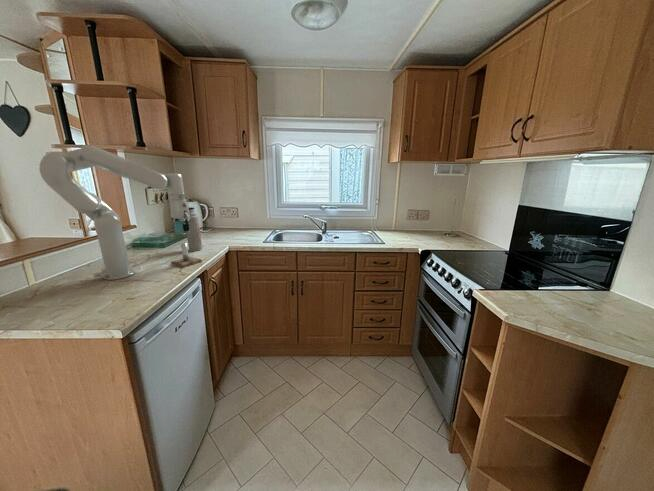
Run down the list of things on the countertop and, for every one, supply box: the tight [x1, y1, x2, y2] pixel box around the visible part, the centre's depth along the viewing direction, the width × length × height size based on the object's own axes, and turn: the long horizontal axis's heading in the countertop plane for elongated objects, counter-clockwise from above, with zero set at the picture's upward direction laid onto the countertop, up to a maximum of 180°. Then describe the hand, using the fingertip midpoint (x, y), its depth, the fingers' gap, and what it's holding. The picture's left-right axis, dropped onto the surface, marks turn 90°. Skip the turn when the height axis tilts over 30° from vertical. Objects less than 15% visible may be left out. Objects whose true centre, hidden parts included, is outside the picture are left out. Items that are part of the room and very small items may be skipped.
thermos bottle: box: [186, 207, 203, 252], centre depth 173 cm, size 8×8×28 cm
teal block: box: [173, 219, 190, 234], centre depth 145 cm, size 7×7×6 cm
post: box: [180, 242, 190, 261], centre depth 149 cm, size 3×3×10 cm
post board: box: [170, 256, 202, 269], centre depth 150 cm, size 11×11×2 cm
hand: (182, 230), depth 146 cm, fingers closed on teal block, 6 cm apart
